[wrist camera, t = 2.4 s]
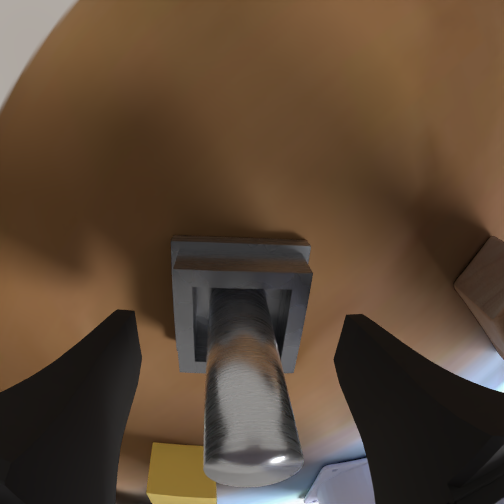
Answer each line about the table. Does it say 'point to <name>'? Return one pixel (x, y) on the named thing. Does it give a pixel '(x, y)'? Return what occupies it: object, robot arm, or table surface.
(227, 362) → the pin
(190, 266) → the pin socket
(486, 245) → the wooden block
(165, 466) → the yellow cube
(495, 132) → the table surface
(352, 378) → the robot arm
